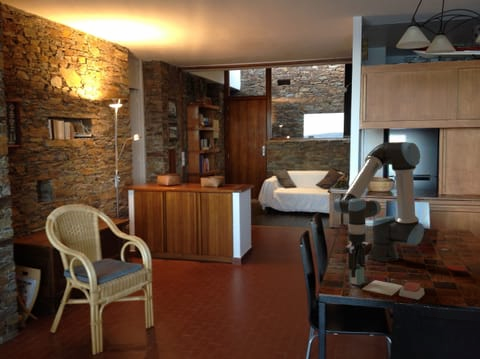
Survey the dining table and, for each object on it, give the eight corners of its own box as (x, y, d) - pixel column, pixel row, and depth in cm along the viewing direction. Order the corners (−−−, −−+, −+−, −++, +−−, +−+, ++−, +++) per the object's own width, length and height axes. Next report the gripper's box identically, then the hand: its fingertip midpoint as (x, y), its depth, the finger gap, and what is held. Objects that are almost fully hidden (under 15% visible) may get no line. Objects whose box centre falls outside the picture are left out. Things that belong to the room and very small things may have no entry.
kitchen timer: (369, 241, 284) (369, 218, 282) (373, 247, 270) (373, 222, 268) (347, 241, 285) (347, 218, 283) (350, 247, 271) (350, 223, 270)
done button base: (405, 290, 194) (405, 284, 193) (424, 294, 189) (424, 288, 188) (399, 295, 187) (399, 289, 187) (418, 299, 182) (418, 293, 182)
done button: (407, 285, 191) (408, 281, 191) (419, 288, 188) (419, 283, 188) (403, 288, 187) (404, 284, 187) (416, 291, 184) (416, 286, 184)
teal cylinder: (354, 280, 207) (354, 262, 207) (364, 282, 204) (364, 264, 203) (349, 283, 204) (349, 265, 203) (359, 285, 200) (359, 267, 200)
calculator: (344, 246, 259) (351, 240, 272) (344, 253, 260) (352, 246, 272) (363, 248, 253) (370, 241, 266) (363, 255, 254) (370, 248, 267)
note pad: (374, 281, 206) (375, 280, 206) (402, 286, 198) (402, 285, 198) (362, 289, 196) (362, 288, 196) (391, 295, 187) (391, 294, 187)
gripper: (357, 228, 211) (357, 275, 213) (340, 235, 197) (340, 285, 199) (372, 230, 206) (372, 278, 208) (356, 237, 192) (356, 289, 195)
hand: (356, 281), depth 204 cm, fingers closed on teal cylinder, 5 cm apart
